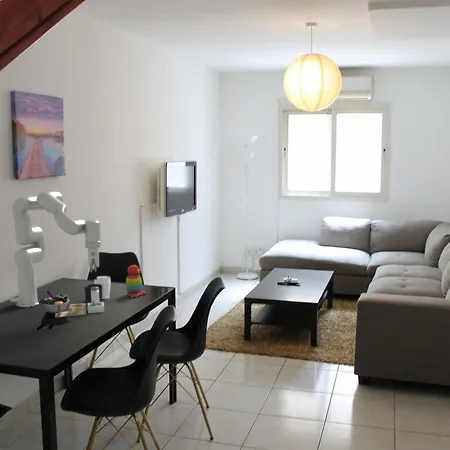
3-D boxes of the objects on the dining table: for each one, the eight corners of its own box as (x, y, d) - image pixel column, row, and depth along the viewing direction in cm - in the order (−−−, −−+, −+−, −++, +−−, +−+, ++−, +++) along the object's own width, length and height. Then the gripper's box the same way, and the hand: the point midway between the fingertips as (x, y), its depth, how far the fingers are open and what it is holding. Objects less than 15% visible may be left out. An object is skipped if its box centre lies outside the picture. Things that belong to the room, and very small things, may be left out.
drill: (91, 311, 284) (90, 288, 283) (92, 309, 288) (90, 287, 287) (99, 311, 285) (98, 288, 284) (99, 309, 289) (98, 286, 288)
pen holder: (83, 303, 306) (82, 285, 305) (100, 300, 310) (99, 283, 309) (87, 306, 298) (86, 288, 297) (104, 304, 302) (104, 286, 301)
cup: (112, 299, 313) (111, 278, 312) (96, 301, 310) (95, 279, 309) (109, 295, 322) (108, 275, 320) (93, 297, 318) (92, 276, 317)
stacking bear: (136, 298, 315) (135, 267, 313) (122, 296, 319) (120, 266, 317) (147, 294, 324) (146, 264, 322) (133, 292, 329) (131, 262, 327)
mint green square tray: (88, 314, 282) (87, 306, 282) (88, 310, 290) (87, 303, 289) (104, 313, 284) (103, 305, 283) (103, 309, 292) (103, 302, 291)
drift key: (54, 312, 278) (54, 303, 278) (55, 310, 282) (55, 301, 281) (63, 311, 279) (62, 303, 279) (63, 309, 283) (63, 301, 282)
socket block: (54, 318, 276) (54, 306, 275) (56, 313, 285) (55, 302, 284) (86, 316, 279) (85, 304, 279) (86, 311, 288) (85, 300, 287)
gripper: (100, 247, 275) (101, 280, 278) (100, 241, 292) (100, 273, 294) (85, 247, 274) (85, 281, 276) (85, 242, 290) (86, 274, 293)
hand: (93, 277), depth 285 cm, fingers open, 9 cm apart
